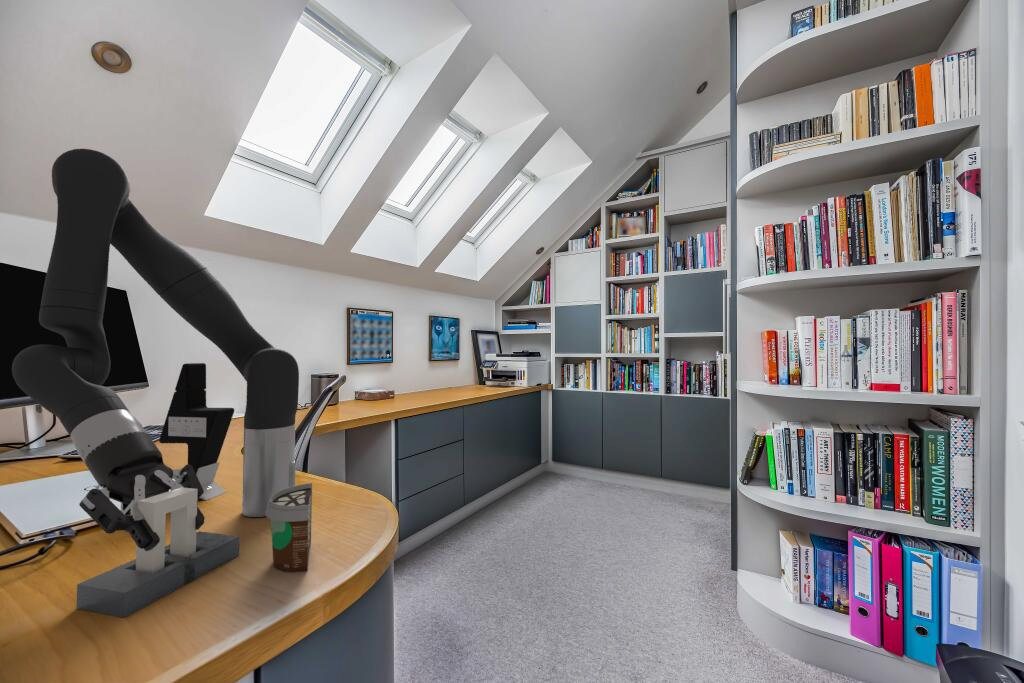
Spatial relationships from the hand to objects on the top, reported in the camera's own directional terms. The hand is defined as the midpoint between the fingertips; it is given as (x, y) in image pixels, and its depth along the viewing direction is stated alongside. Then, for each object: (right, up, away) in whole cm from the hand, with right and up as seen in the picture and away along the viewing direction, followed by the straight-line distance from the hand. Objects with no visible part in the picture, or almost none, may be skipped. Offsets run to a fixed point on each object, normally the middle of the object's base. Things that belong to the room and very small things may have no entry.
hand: (177, 536), depth 59 cm
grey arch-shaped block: (-2, -5, 0) cm, 6 cm away
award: (-25, -7, +35) cm, 44 cm away
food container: (+13, -7, +6) cm, 15 cm away
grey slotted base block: (-2, -6, 0) cm, 6 cm away
